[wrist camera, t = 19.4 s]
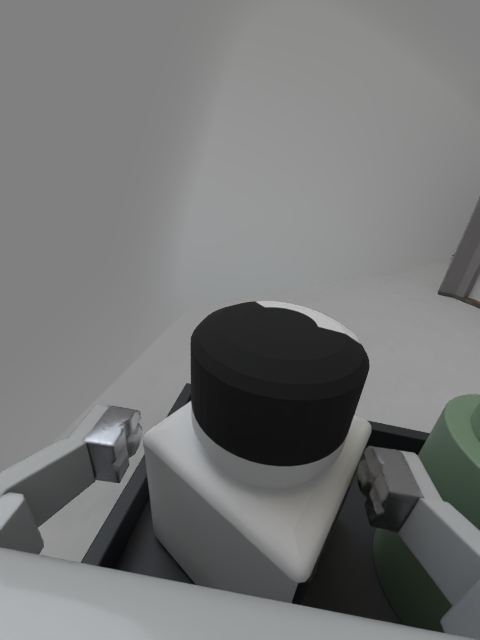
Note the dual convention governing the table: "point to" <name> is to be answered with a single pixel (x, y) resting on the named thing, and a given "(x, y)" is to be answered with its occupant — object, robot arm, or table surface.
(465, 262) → the grey toy building
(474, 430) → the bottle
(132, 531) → the tray
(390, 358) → the table surface
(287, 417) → the medicine bottle
